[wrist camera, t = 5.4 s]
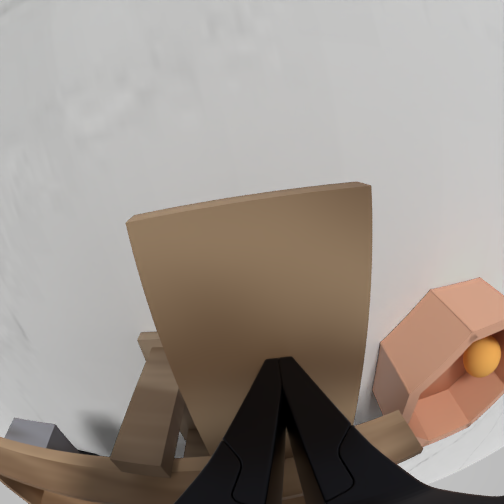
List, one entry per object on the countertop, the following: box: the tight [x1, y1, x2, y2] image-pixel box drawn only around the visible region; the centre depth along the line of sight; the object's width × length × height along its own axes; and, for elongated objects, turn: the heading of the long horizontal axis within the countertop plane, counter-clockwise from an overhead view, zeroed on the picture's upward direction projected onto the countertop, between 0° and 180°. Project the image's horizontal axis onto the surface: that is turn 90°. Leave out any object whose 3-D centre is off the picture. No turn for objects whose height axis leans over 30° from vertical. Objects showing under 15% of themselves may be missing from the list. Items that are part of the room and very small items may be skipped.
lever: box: [0, 182, 423, 504], centre depth 10 cm, size 17×24×5 cm
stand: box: [110, 332, 210, 478], centre depth 15 cm, size 11×4×9 cm, turn 7°
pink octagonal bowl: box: [372, 277, 504, 447], centre depth 16 cm, size 12×12×5 cm
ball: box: [463, 335, 501, 378], centre depth 16 cm, size 3×3×3 cm
